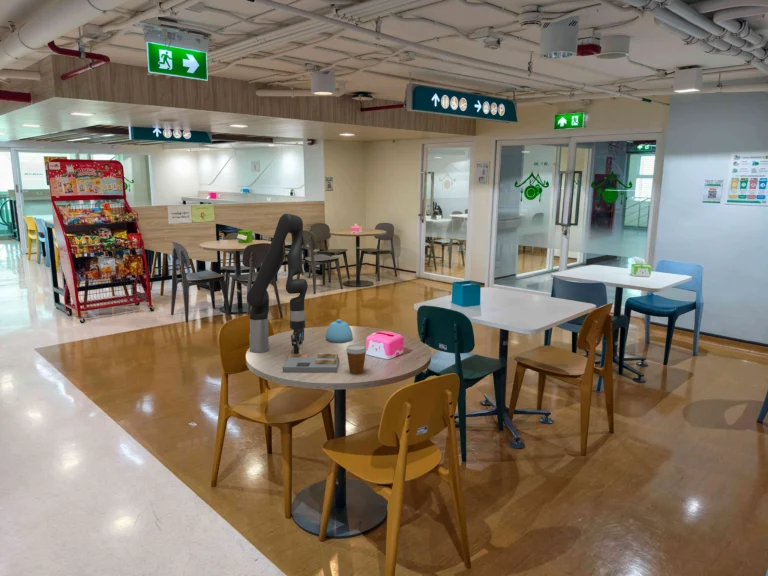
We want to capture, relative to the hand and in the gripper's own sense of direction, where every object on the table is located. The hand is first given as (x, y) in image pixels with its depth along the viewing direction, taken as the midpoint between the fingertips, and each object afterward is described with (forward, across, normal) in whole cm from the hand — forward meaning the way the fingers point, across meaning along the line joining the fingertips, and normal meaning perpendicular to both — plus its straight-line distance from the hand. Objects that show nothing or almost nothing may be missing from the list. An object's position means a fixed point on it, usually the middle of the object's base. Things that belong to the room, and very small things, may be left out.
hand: (298, 351), depth 281 cm
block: (+1, 0, +1) cm, 1 cm away
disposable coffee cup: (+3, -16, -33) cm, 37 cm away
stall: (+1, -9, -17) cm, 20 cm away
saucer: (+3, 0, 0) cm, 3 cm away
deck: (+3, -13, -11) cm, 17 cm away
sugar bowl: (+4, +37, -12) cm, 39 cm away
